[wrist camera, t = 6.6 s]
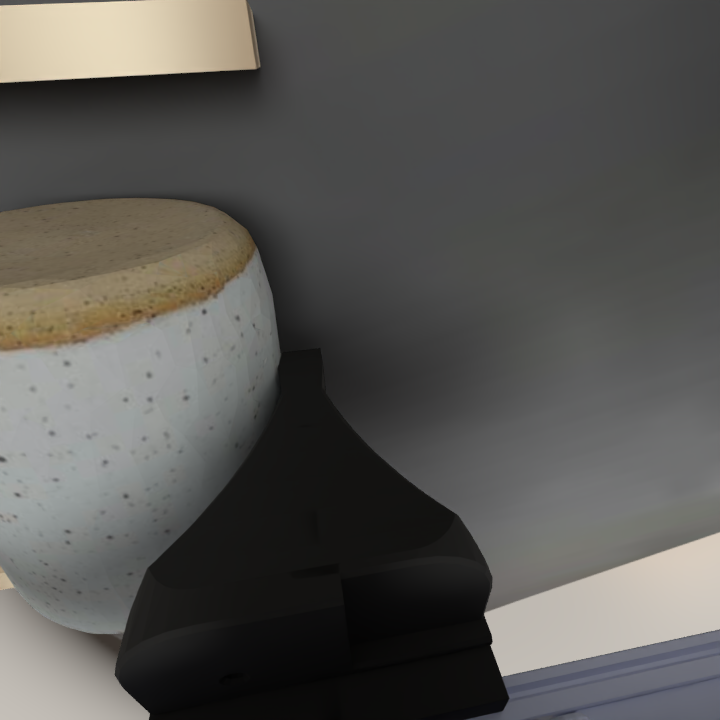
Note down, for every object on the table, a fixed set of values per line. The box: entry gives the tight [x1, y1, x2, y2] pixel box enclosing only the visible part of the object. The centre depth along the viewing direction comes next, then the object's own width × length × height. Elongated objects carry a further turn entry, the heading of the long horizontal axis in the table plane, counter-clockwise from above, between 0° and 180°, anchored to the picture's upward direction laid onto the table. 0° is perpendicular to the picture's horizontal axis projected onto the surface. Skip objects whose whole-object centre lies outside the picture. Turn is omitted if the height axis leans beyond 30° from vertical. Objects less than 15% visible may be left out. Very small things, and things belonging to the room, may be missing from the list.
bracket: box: [0, 0, 261, 590], centre depth 12 cm, size 12×16×3 cm
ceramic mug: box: [0, 198, 282, 634], centre depth 10 cm, size 11×8×8 cm
